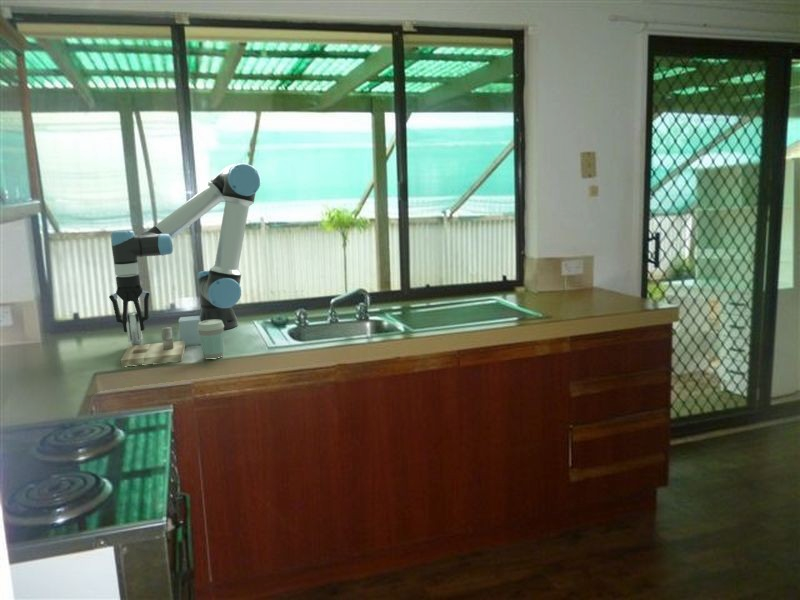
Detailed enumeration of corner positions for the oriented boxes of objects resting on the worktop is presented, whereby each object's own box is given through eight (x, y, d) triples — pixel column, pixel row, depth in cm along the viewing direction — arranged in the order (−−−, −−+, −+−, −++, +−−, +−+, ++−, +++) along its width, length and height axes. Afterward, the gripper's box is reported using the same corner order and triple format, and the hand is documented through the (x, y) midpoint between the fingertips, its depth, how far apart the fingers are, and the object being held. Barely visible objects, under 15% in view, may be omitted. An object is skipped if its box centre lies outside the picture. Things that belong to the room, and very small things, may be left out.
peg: (142, 345, 217) (138, 312, 215) (141, 347, 214) (136, 314, 212) (132, 346, 217) (128, 313, 214) (131, 348, 214) (127, 315, 211)
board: (185, 347, 212) (182, 321, 211) (181, 361, 195) (178, 333, 194) (130, 352, 208) (126, 326, 206) (121, 367, 191) (117, 338, 189)
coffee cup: (217, 352, 205) (214, 317, 203) (232, 356, 200) (229, 320, 197) (195, 358, 198) (191, 323, 196) (209, 362, 193) (206, 326, 191)
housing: (202, 339, 223) (200, 315, 221) (201, 343, 216) (199, 319, 215) (182, 341, 221) (179, 317, 219) (181, 346, 214) (178, 321, 213)
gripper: (153, 271, 216) (160, 335, 221) (104, 275, 212) (113, 339, 216) (150, 274, 209) (158, 340, 214) (100, 278, 205) (109, 345, 209)
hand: (135, 339), depth 215 cm, fingers closed on peg, 3 cm apart
